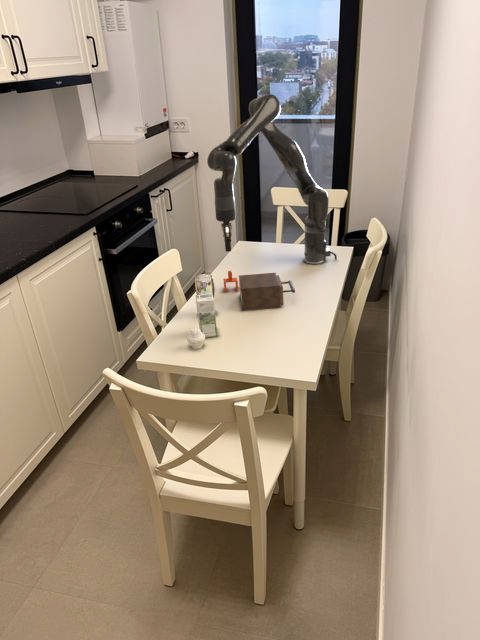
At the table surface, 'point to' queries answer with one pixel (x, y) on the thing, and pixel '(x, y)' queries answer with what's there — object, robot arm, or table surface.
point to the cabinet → (259, 291)
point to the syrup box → (206, 314)
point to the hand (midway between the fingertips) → (228, 250)
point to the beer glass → (205, 285)
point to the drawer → (285, 290)
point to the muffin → (196, 338)
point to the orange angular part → (230, 280)
